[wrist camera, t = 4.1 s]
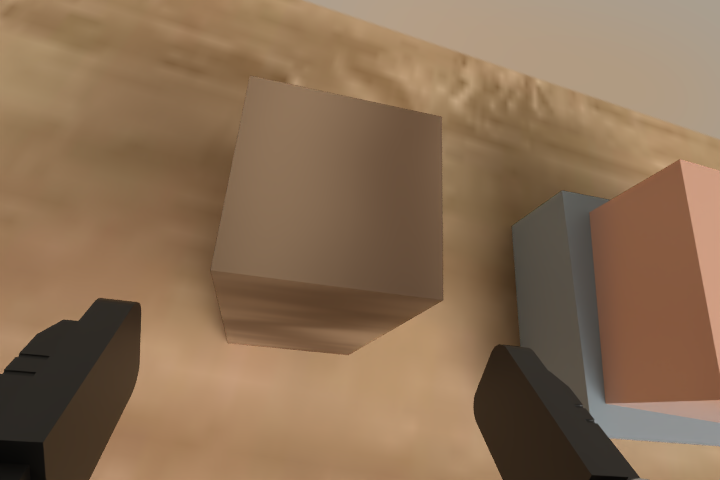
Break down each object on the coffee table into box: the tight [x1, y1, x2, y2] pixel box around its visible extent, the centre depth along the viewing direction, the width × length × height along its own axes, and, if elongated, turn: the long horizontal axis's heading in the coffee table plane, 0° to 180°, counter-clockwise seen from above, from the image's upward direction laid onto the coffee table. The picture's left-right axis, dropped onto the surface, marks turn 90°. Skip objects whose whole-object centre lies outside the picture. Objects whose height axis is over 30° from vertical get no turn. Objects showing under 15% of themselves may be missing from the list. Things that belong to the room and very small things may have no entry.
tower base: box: [512, 191, 720, 446], centre depth 21 cm, size 10×10×4 cm
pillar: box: [210, 76, 443, 355], centre depth 15 cm, size 5×5×10 cm
